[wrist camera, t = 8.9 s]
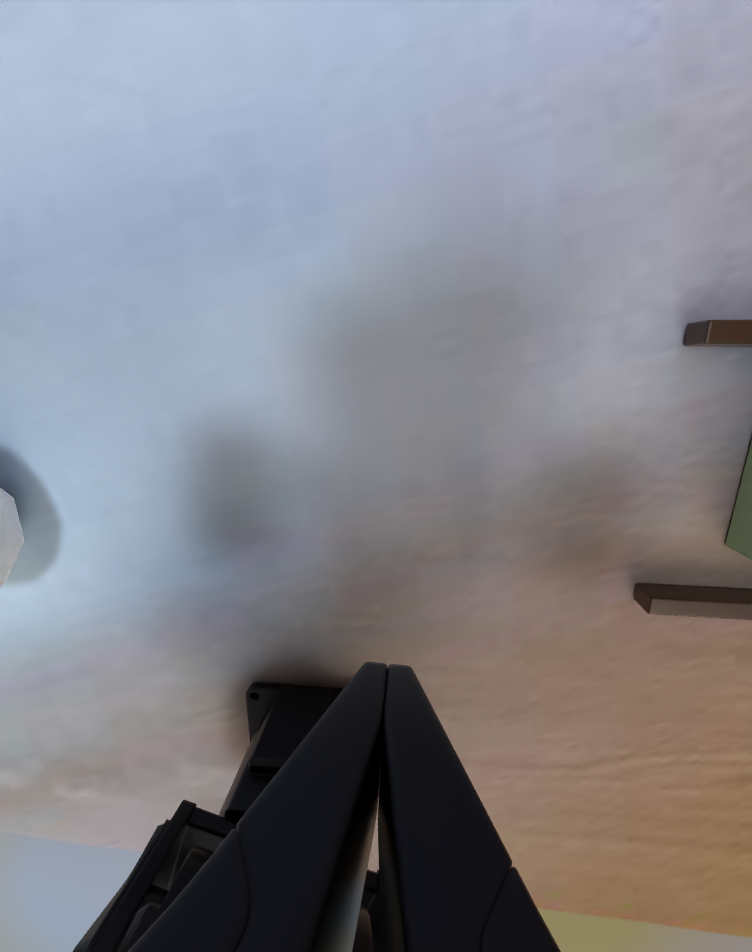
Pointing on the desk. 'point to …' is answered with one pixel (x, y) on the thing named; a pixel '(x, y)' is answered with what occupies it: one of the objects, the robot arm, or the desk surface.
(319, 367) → the desk surface
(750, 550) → the block
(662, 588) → the bay
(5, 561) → the geometric ball
